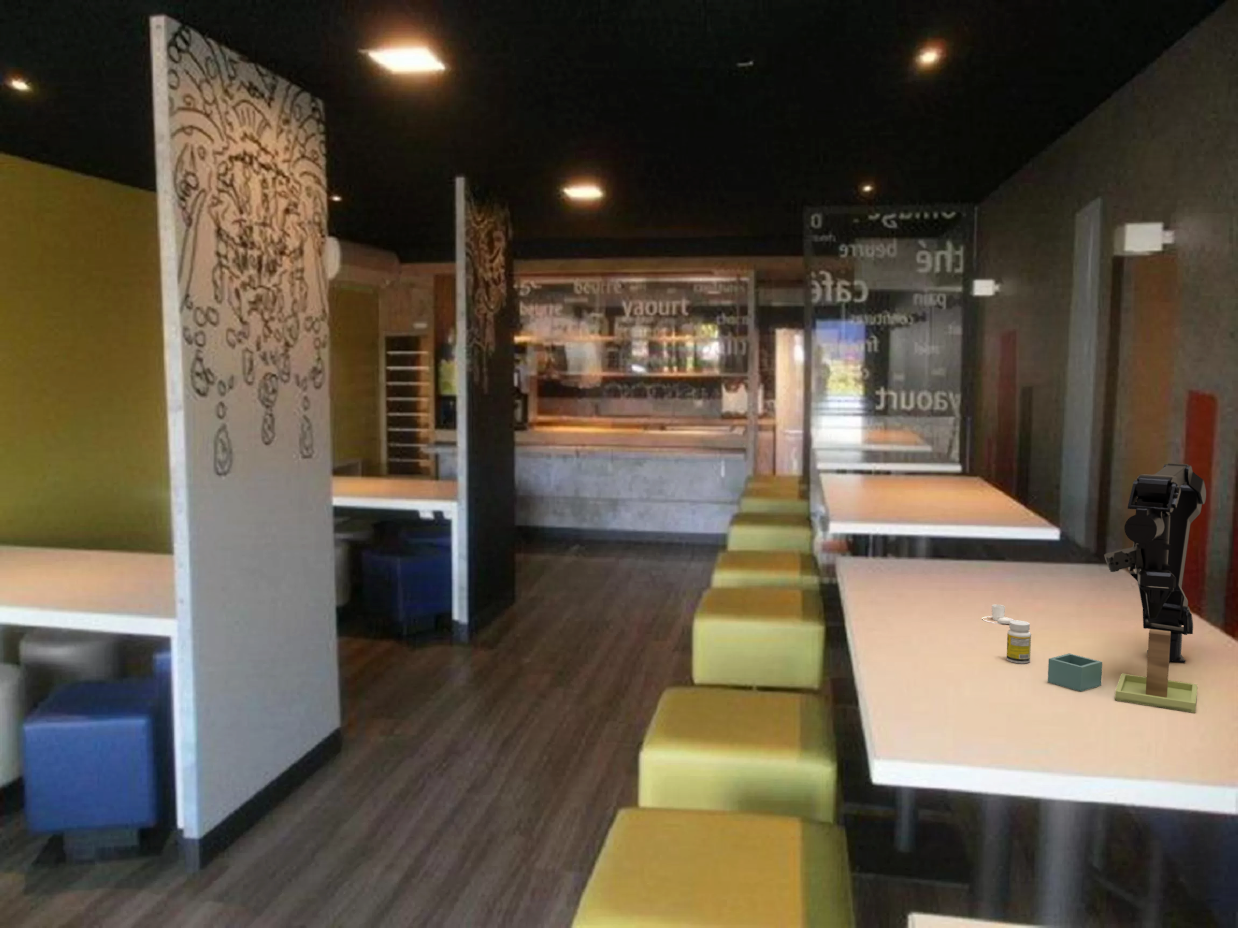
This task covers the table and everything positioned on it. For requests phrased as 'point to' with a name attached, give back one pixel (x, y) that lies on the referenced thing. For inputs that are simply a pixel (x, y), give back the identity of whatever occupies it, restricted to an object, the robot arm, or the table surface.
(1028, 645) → the supplement bottle
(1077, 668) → the teal open box
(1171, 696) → the olive tray
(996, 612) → the teacup and saucer
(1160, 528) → the robot arm
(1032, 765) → the table surface
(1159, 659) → the walnut stick
